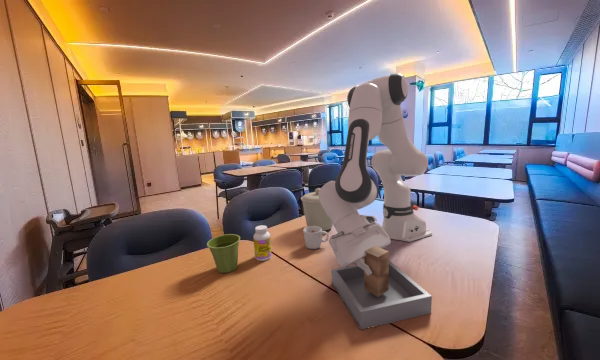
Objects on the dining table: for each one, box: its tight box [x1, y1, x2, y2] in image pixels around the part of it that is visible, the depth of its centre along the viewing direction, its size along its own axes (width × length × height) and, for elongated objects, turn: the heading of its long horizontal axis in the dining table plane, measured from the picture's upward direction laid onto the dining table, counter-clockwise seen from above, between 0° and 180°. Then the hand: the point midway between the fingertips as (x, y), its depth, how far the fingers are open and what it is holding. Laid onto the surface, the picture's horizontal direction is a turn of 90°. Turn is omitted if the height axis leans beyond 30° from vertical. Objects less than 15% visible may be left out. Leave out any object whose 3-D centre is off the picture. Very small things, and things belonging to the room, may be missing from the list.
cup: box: [302, 226, 330, 250], centre depth 104 cm, size 11×8×8 cm
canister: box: [300, 187, 334, 232], centre depth 124 cm, size 18×18×21 cm
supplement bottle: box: [253, 224, 272, 262], centre depth 97 cm, size 7×7×13 cm
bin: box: [331, 260, 433, 330], centre depth 70 cm, size 20×20×5 cm
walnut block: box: [363, 246, 390, 297], centre depth 69 cm, size 5×5×12 cm
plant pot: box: [206, 233, 241, 274], centre depth 90 cm, size 12×12×11 cm
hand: (378, 269), depth 69 cm, fingers open, 5 cm apart
